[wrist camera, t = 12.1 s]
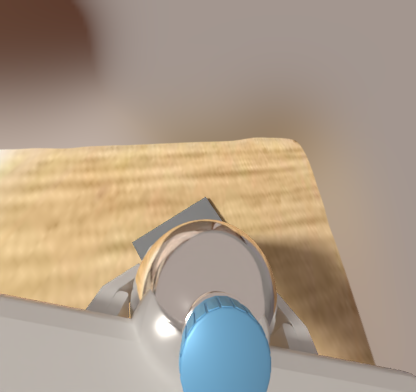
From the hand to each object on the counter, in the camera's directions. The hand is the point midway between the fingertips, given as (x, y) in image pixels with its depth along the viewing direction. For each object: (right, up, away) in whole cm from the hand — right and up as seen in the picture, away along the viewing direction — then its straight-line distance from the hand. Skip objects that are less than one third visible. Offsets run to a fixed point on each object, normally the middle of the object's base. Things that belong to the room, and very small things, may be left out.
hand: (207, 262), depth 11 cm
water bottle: (-2, -6, +16) cm, 17 cm away
